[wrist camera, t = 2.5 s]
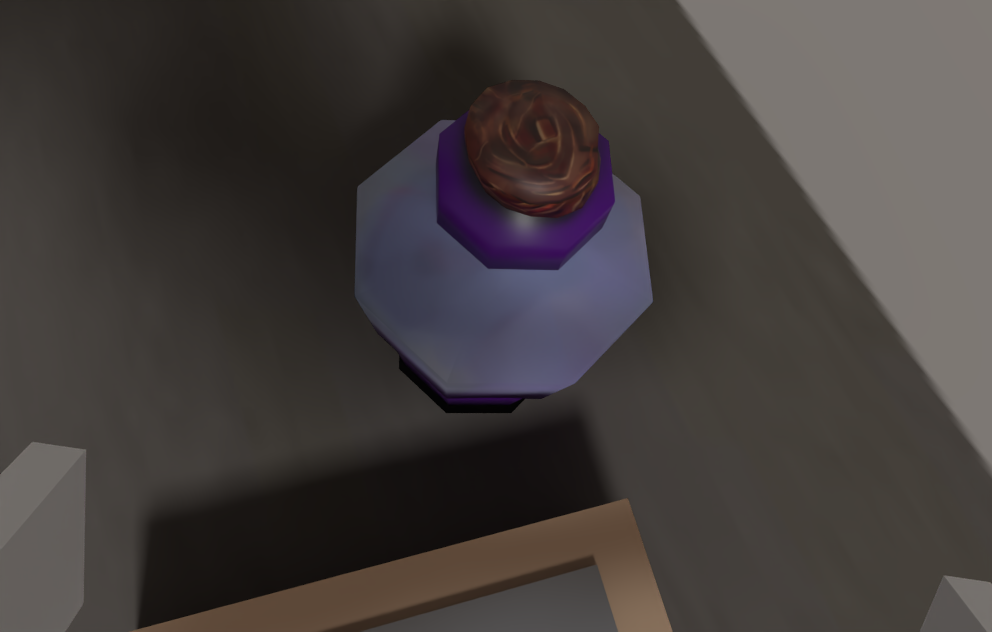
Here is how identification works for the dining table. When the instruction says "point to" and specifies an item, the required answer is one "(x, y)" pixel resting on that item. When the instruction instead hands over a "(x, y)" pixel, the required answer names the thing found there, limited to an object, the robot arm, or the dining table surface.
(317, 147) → the dining table surface
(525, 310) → the potion bottle
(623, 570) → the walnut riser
